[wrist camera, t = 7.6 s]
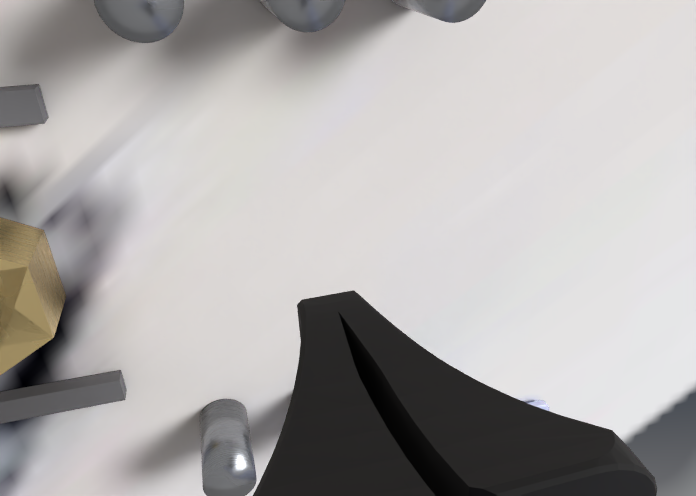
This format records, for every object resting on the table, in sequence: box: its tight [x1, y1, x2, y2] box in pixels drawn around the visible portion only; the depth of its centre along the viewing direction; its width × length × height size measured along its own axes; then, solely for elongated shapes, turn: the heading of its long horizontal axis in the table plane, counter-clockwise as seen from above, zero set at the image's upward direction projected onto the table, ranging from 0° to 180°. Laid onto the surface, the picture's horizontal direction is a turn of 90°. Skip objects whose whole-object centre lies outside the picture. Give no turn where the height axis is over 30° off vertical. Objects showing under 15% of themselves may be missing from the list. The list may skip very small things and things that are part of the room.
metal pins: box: [94, 0, 486, 496], centre depth 20 cm, size 19×10×4 cm, turn 1°
